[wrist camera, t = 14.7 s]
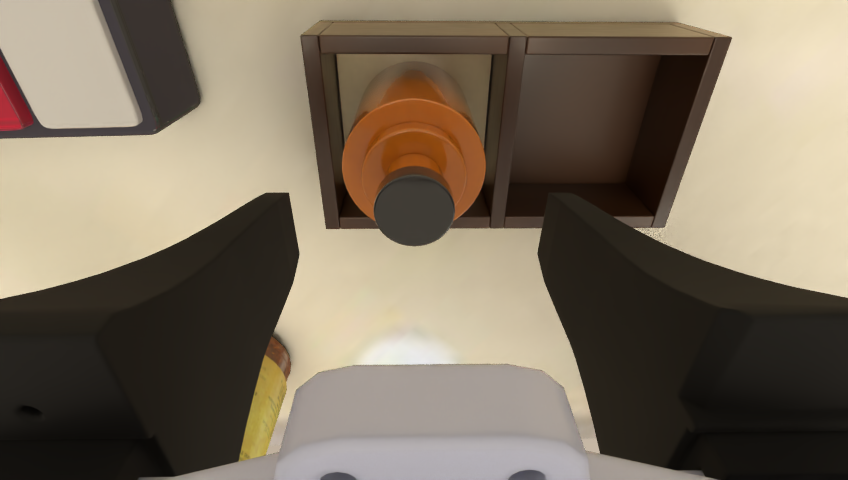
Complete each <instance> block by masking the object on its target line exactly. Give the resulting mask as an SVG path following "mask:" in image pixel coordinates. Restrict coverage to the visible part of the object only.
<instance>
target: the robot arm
mask: <svg viewBox="0 0 848 480" xmlns="http://www.w3.org/2000/svg"><path fill="white" fill-rule="evenodd" d="M538 258H539V262H540V266H541V270H542V274H543V278H544V282H545V284H546V287H547V289H548V292H549V294H550V297H551V299H552V302H553V304H554V306H555V309H556V311H557V314H558V316H559V318H560V321H561V323H562V325H563V328H564V330H565V332H566V335H567V337H568V340H569V342H570V344H571V347H572V350H573V353H574V355H575V358H576V362H577V365H578V369H579V372H580V376H581V379H582V383H583V386H584V390H585V393H586V397H587V401H588V405H589V409H590V413H591V417H592V420H593V424H594V429H595V433H596V437H597V441H598V446H599V450H600V454H598V453H594V452H589V451H585V448H584V446H583V443H582V440H581V437H580V434H579V431H578V428H577V425H576V422H575V419H574V416H573V413H572V411H571V408H570V405H569V402H568V399H567V396H566V393H565V390H564V387H562V386H561V385H560V384H559V383H557V382H556V381H555V380H554V379H552V378H551V377H550V376H549V375H547V374H546V373H545V372H544V371H542V370H537V369H532V368H526V367H521V366H516V365H510V364H433V365H353V366H347V367H342V368H337V369H332V370H327V371H322V372H319V373H317V374H316V375H315V376H313V377H312V378H311V379H310V380H308V381H307V382H306V383H304V384H303V385H302V386H301V387H299V388H298V389H297V390H296V393H295V396H294V400H293V404H292V408H291V411H290V415H289V419H288V422H287V426H286V430H285V433H284V437H283V441H282V444H281V448H280V452H278V453H273V454H269V455H265V456H260V457H256V458H252V459H248V460H244V461H239V457H240V453H241V448H242V443H243V439H244V434H245V429H246V425H247V421H248V417H249V413H250V408H251V404H252V400H253V396H254V392H255V388H256V385H257V381H258V377H259V373H260V370H261V366H262V362H263V359H264V356H265V353H266V350H267V347H268V344H269V342H270V340H271V337H272V335H273V332H274V330H275V327H276V325H277V322H278V320H279V317H280V315H281V312H282V310H283V307H284V305H285V302H286V300H287V297H288V295H289V292H290V289H291V287H292V284H293V281H294V277H295V273H296V268H297V263H298V259H299V248H298V243H297V237H296V231H295V226H294V220H293V214H292V209H291V203H290V197H289V193H265V194H263V195H261V196H259V197H257V198H255V199H253V200H252V201H250V202H248V203H247V204H245V205H243V206H242V207H240V208H238V209H237V210H235V211H234V212H232V213H230V214H229V215H227V216H225V217H224V218H222V219H220V220H219V221H217V222H215V223H214V224H212V225H210V226H208V227H206V228H205V229H203V230H201V231H199V232H197V233H196V234H194V235H192V236H190V237H188V238H187V239H185V240H183V241H181V242H179V243H177V244H175V245H172V246H170V247H168V248H166V249H164V250H161V251H159V252H157V253H155V254H152V255H150V256H148V257H145V258H143V259H140V260H137V261H135V262H132V263H129V264H126V265H123V266H121V267H118V268H115V269H112V270H110V271H107V272H104V273H101V274H98V275H94V276H91V277H88V278H85V279H81V280H78V281H74V282H71V283H67V284H63V285H60V286H56V287H52V288H48V289H44V290H40V291H36V292H31V293H26V294H22V295H17V296H12V297H8V298H3V299H0V480H848V298H845V297H840V296H835V295H830V294H825V293H820V292H815V291H810V290H805V289H800V288H796V287H791V286H787V285H783V284H779V283H775V282H772V281H768V280H764V279H760V278H756V277H753V276H750V275H746V274H743V273H739V272H736V271H733V270H730V269H727V268H724V267H721V266H718V265H715V264H712V263H709V262H706V261H704V260H701V259H698V258H696V257H693V256H691V255H688V254H686V253H684V252H681V251H679V250H677V249H674V248H672V247H670V246H667V245H665V244H663V243H661V242H659V241H657V240H655V239H653V238H651V237H649V236H647V235H645V234H643V233H641V232H639V231H637V230H635V229H634V228H632V227H630V226H628V225H626V224H625V223H623V222H621V221H620V220H618V219H616V218H614V217H613V216H611V215H609V214H608V213H606V212H604V211H603V210H601V209H599V208H598V207H596V206H594V205H593V204H591V203H589V202H588V201H586V200H584V199H582V198H581V197H579V196H577V195H575V194H572V193H548V198H547V204H546V209H545V215H544V220H543V226H542V231H541V237H540V243H539V248H538Z"/></svg>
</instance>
